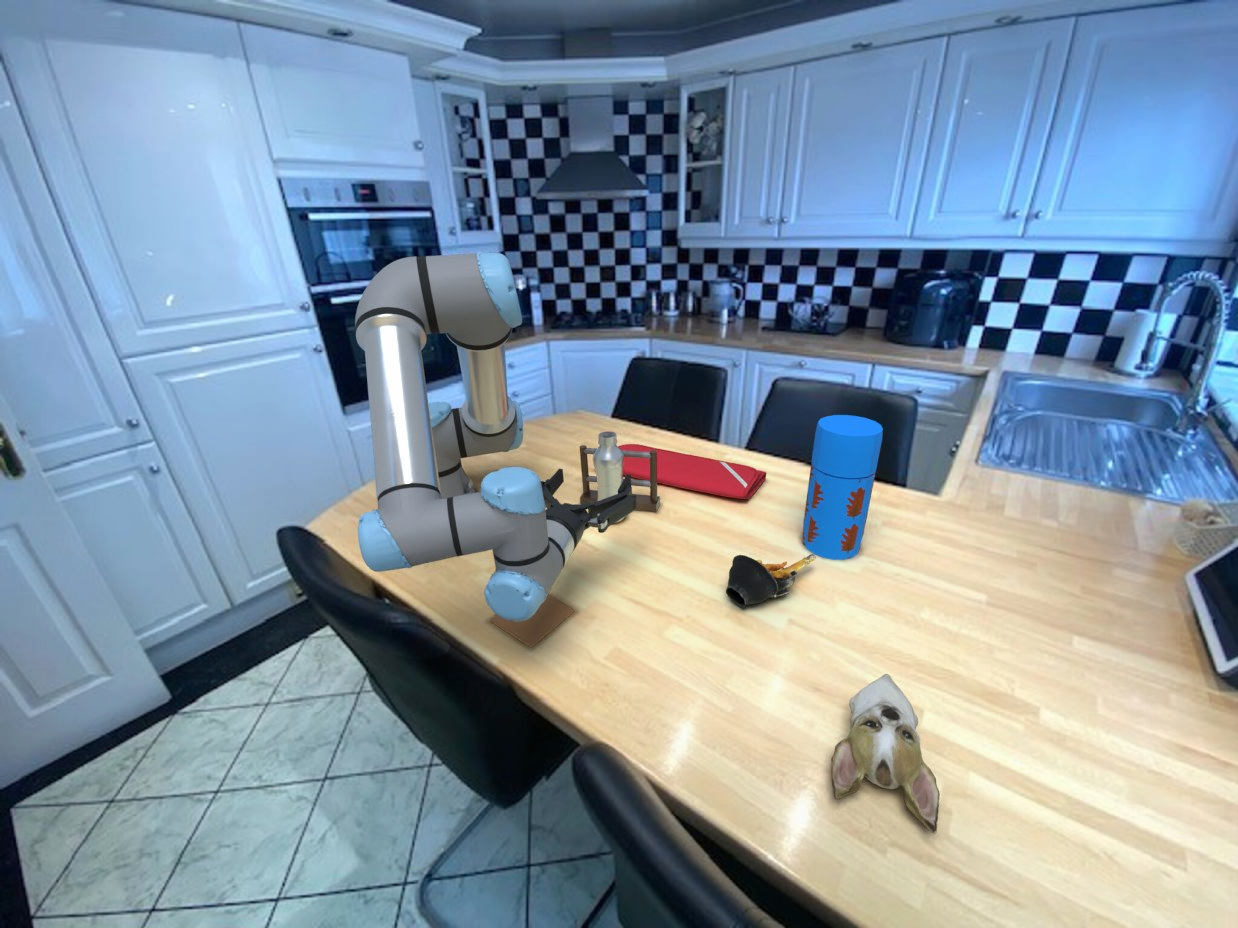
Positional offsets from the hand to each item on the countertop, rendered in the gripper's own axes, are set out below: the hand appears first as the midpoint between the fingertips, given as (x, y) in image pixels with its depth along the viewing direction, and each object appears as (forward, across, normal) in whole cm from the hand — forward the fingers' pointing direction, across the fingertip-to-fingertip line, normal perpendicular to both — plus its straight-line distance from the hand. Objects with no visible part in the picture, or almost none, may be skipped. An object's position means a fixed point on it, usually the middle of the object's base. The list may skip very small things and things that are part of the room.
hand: (594, 477), depth 97 cm
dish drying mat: (+33, +11, -15) cm, 38 cm away
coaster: (-23, -5, -15) cm, 28 cm away
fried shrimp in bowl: (-8, +34, -15) cm, 38 cm away
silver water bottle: (+10, 0, -15) cm, 18 cm away
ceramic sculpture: (-37, +46, -15) cm, 61 cm away
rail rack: (+16, 0, -15) cm, 22 cm away
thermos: (+9, +45, -15) cm, 48 cm away
